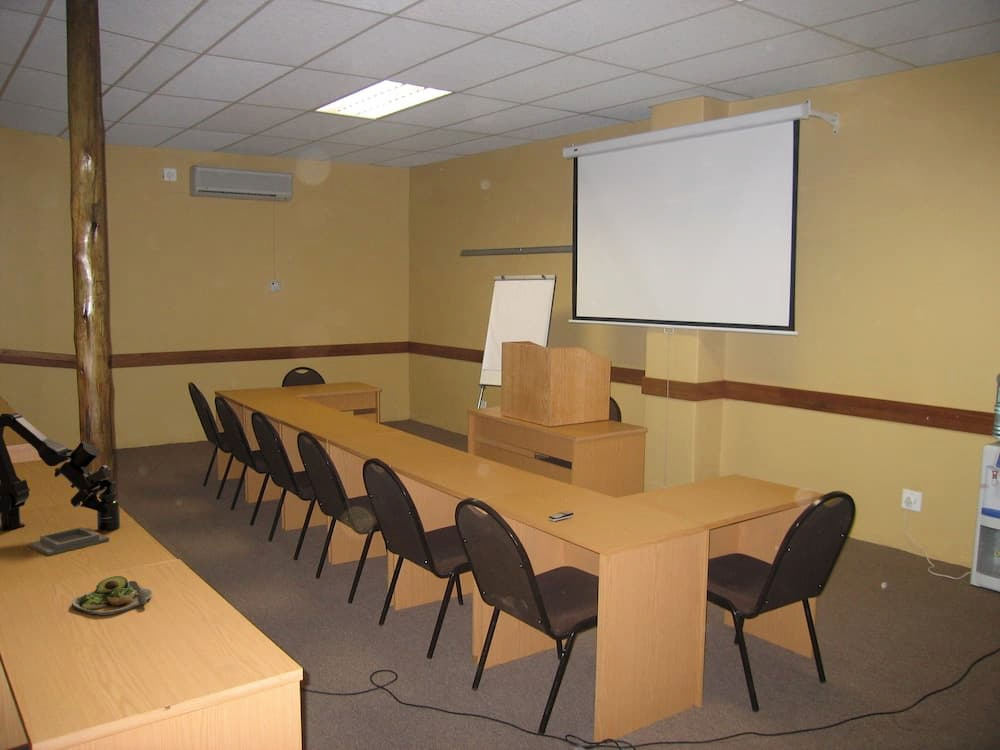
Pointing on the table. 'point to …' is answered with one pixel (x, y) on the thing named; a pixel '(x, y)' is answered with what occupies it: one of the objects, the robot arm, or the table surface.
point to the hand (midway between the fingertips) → (112, 509)
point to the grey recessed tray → (68, 541)
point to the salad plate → (113, 596)
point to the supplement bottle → (109, 512)
